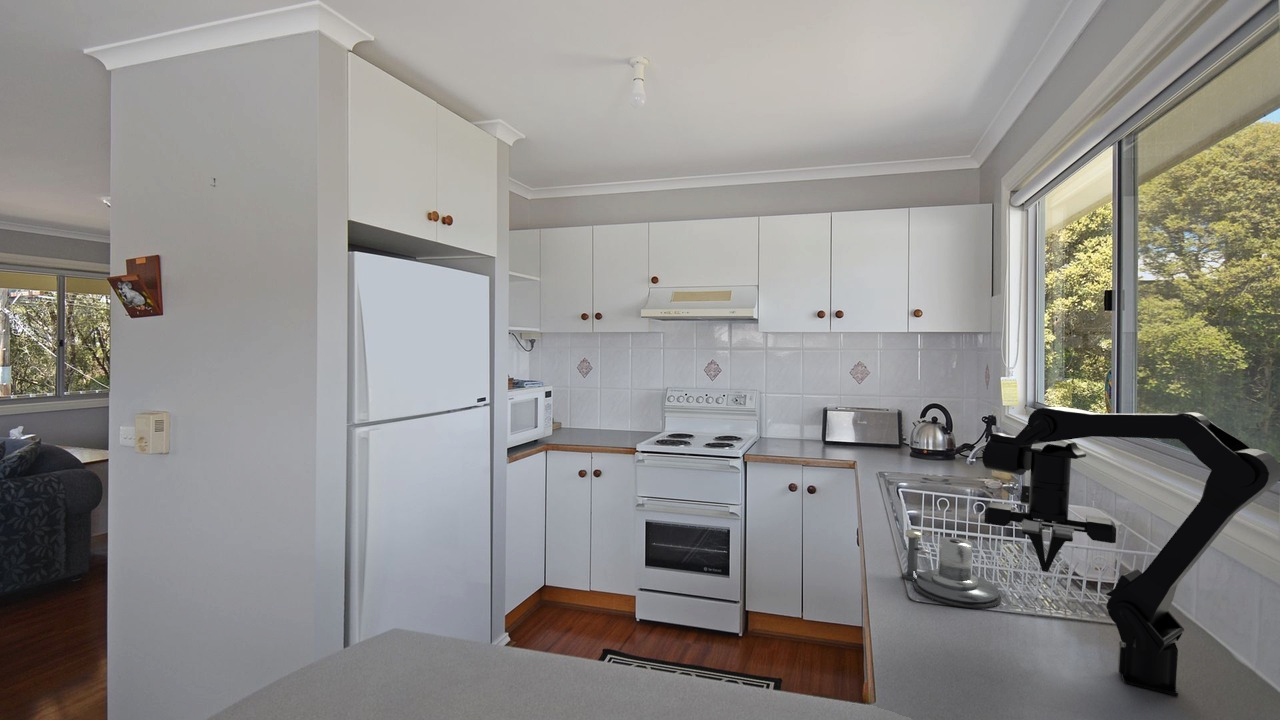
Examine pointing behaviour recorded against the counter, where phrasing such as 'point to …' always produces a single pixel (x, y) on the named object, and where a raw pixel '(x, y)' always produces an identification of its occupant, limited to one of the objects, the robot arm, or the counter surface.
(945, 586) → the cover
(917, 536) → the stand
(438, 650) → the counter surface
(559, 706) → the counter surface
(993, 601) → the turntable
